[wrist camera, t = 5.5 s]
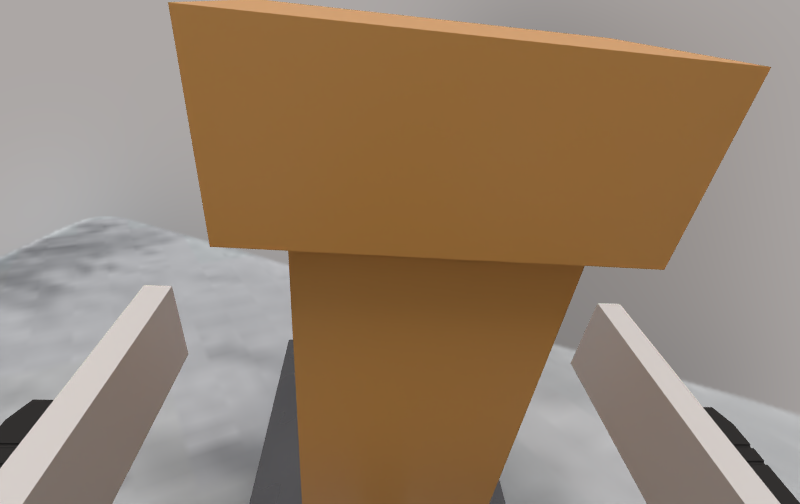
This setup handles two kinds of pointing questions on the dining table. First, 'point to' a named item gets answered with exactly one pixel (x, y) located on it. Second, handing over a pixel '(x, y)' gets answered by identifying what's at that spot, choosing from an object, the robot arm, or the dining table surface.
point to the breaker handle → (438, 211)
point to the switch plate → (290, 447)
